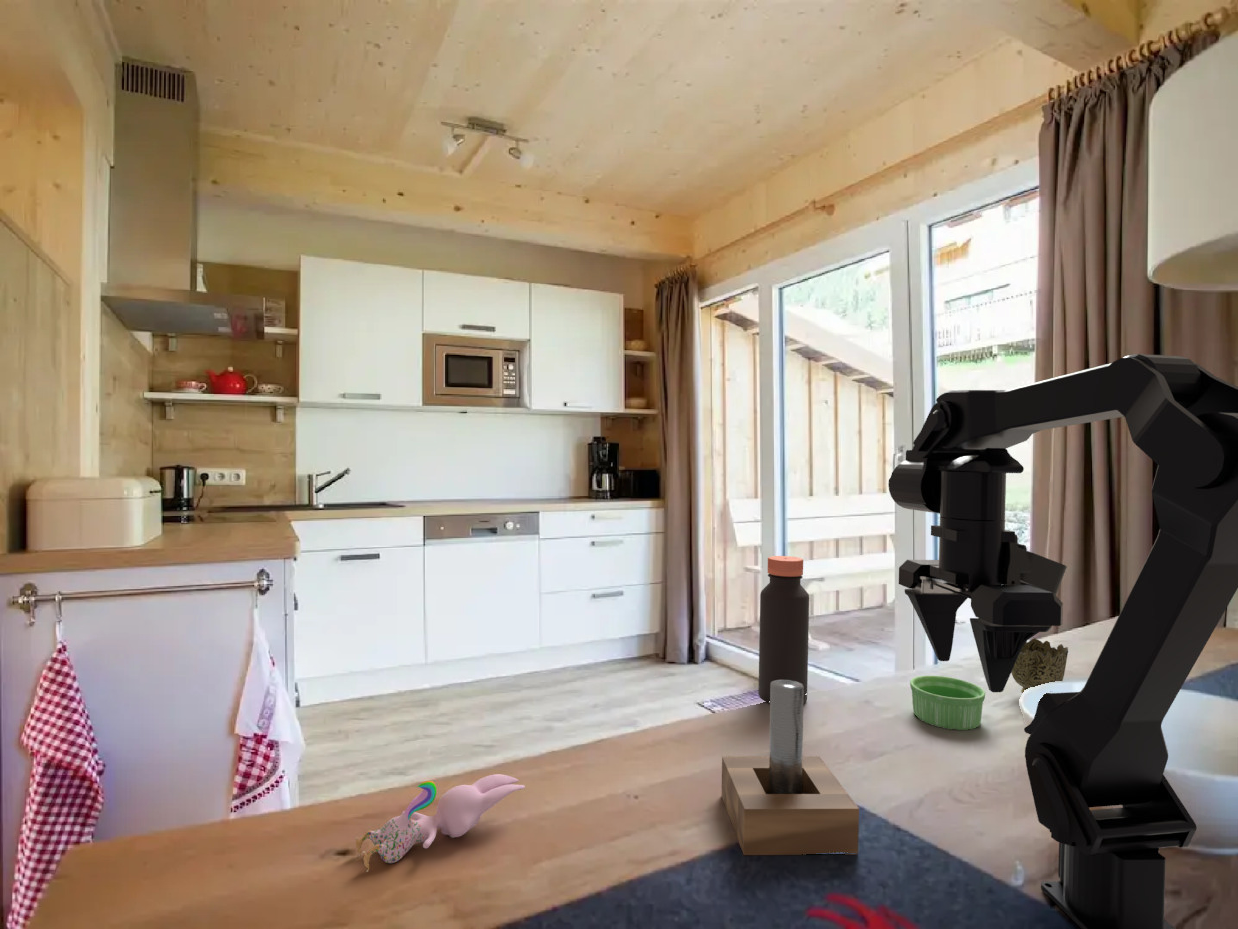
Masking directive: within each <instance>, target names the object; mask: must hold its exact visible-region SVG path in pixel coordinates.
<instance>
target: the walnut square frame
mask: <svg viewBox="0 0 1238 929" xmlns="http://www.w3.org/2000/svg"><path fill="white" fill-rule="evenodd" d="M720 795H721V798H722V801H723V804H724V807H725V809H726V812H727V814H728V817H729V819H730V821H731V825H732V827H733V831H734V833H735V836H736V838H737V841H738V844H739V846H740V848H741V851H742V854H743V856H797V855H798V856H801V855H802V854H803V855H802V856H806V854H816V853H817V854H818V853H829V852H830V853H833V852H834V853H836V852H839V853H840V852H843V853H844V852H845V853H847V852H848V853H858V854H859V838H860V837H859V832H860V831H859V828H860V808H859V806H858V805H857V804H856V803H855V801H854V800H853V798H852V797H851V796H850V795H849V793H848V791H847V790H846V789H845V788H844V786H843V785H842V784H841V782H840V781H839V780H838V778H837V777H836V776H835V775H834V773H833V771H832V770H831V769H830V768H829V767H828V765H827V764H826V762H825V761H824V760H823V758H822V757H821V756H817V755H816V756H810V755H809V756H807V755H806V756H805V755H804V756H803V755H802V794H769V756H768V755H767V756H758V755H757V756H752V755H751V756H742V755H741V756H738V755H737V756H726V755H725V756H723V755H722V756H721V794H720Z"/></svg>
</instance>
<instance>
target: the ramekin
mask: <svg viewBox="0 0 1238 929" xmlns="http://www.w3.org/2000/svg"><path fill="white" fill-rule="evenodd" d="M909 685H910V689H911V694H912V695H911V697H912V707H913V708H912V709H913V714H914V716H915V715H916V716H917V717H918V718H920V719H921V720H923V721H925V722H926V723H925V722H924V723H925V724H928V723H929V724H928V725H930V724H933V725H935V726H934V727H936V726H939V727H938V728H940V727H944V728H943V729H945V728H948V729H947V730H952V729H957V730H956V731H969V730H968V729H970V730H975V729H976V727H977V728H978V727H980V725H981V722H982V714H983V705H984V701H985V698H986V692H985V690H984V689H983V688H982V687H981V686H979V685H977V684H975V683H972V682H971V681H966V680H963V679H960V678H955V677H949V676H943V675H920V676H915V677H912V678H911V680H910V682H909ZM916 716H915V717H916ZM917 717H916V718H917ZM918 718H917V719H918ZM920 719H919V720H920ZM921 720H920V721H921ZM923 721H922V722H923ZM933 725H932V726H933Z"/></svg>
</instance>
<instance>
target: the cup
mask: <svg viewBox="0 0 1238 929" xmlns="http://www.w3.org/2000/svg"><path fill="white" fill-rule="evenodd" d="M1068 654H1069V647H1067V646H1066V647H1064V645H1063V644H1062V643H1061V644H1058V646H1056V647H1054V646H1051V642H1049V640H1044V642H1042V641H1041V640H1039V639H1037V638H1035V637H1034V638H1033V637H1032V639H1029V640H1028V641H1027V642H1026V643H1025V645H1024V647H1023V648H1022V650H1021V652H1020V654H1019V656H1018V658H1017V660H1016V663H1015V665H1014V667H1013V669H1012V672H1011V675H1012V678H1013V680H1014V681H1015V682H1016V684H1018V685H1019V686H1020V687H1021V690H1020V693H1021V694H1022V693H1023V692H1024V690H1026V689H1028V688H1030V687H1035V686H1038V685H1041V684H1045V683H1049V682H1055V681H1062V682H1063V681H1064V677H1065V672H1066V665H1067V660H1068Z"/></svg>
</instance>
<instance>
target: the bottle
mask: <svg viewBox="0 0 1238 929" xmlns="http://www.w3.org/2000/svg"><path fill="white" fill-rule="evenodd" d="M767 573H768V574H767V577H769V583H767V585H765V587H763V588H762V590H761V591H760V595H759V596H760V598H759V600H760V601H759V604H760V605H759V636H758V637H759V638H758V639H759V641H758V642H759V643H758V644H759V646H758V648H759V649H758V688H757V689H758V690H757V691H758V693H757V694H758V696H759V699H761V700H762V701H764V702H765V703H768V702H769V701H770V684H771V682H772V681H775V680H792V681H796V682H799V683H801V684H802V685H803V686H804V688H803V705H804V704H805V703H806V702H807V700H808V677H809V676H808V674H809V673H808V672H809V634H810V633H809V632H810V631H809V630H810V629H809V628H810V627H809V625H810V623H809V620H810V595H809V593H808V592H807V590H806V589H805V588H804V587H803V586H802V585H801V579H803V575H804V559H803V558H801V557H797V556H791V555H772V556H769V557H767ZM806 693H807V695H805V694H806Z"/></svg>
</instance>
